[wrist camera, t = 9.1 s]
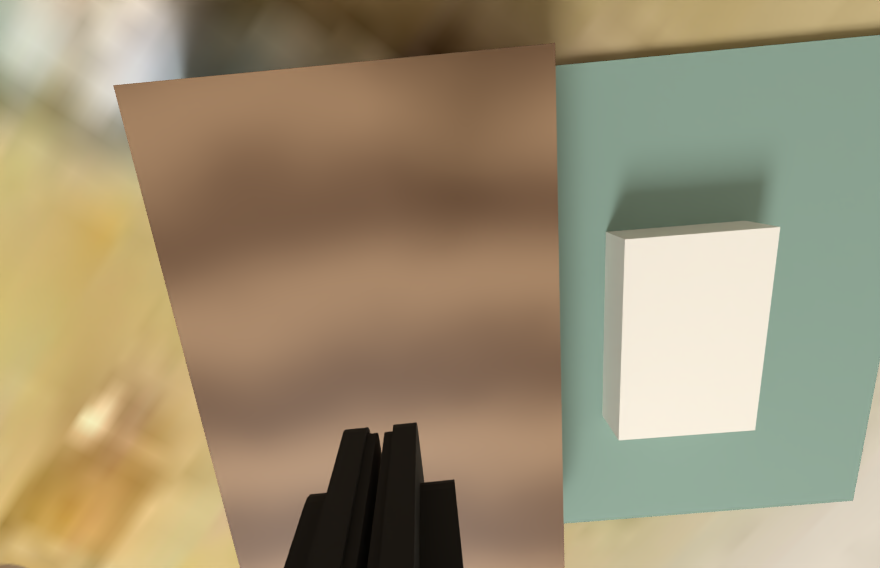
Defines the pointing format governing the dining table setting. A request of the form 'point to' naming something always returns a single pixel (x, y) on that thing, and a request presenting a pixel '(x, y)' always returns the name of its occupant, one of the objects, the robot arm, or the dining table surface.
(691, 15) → the dining table surface
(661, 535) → the dining table surface
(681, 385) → the white rectangular block
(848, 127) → the mat
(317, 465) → the brown wooden block
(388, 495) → the robot arm
